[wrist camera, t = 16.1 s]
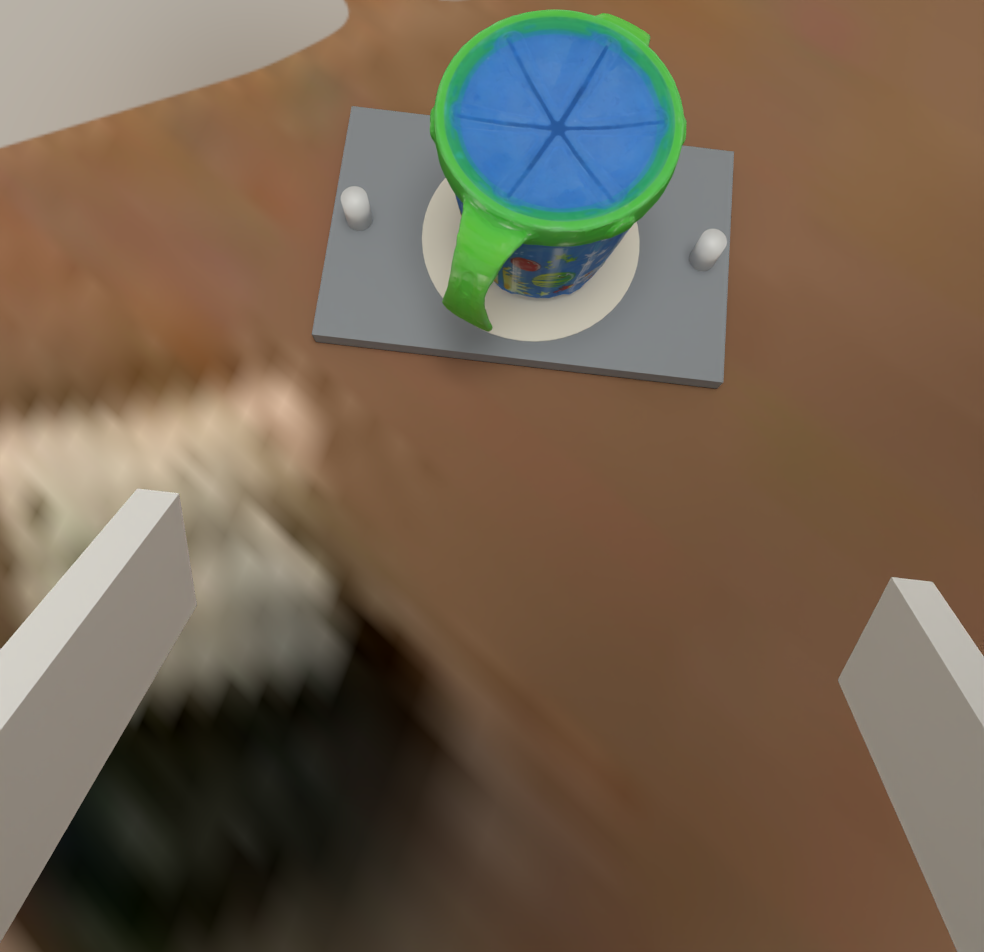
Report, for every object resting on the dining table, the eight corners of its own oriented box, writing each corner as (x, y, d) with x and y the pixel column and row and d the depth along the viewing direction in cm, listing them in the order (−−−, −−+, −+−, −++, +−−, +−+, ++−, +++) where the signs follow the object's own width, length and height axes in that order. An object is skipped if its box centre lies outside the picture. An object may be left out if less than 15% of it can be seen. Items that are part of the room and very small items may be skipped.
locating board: (727, 162, 43) (746, 128, 40) (716, 388, 40) (736, 369, 37) (354, 118, 43) (346, 80, 40) (315, 341, 40) (303, 318, 37)
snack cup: (530, 405, 38) (552, 326, 28) (373, 291, 39) (340, 175, 29) (694, 195, 41) (767, 55, 31) (544, 93, 42) (567, -73, 32)
